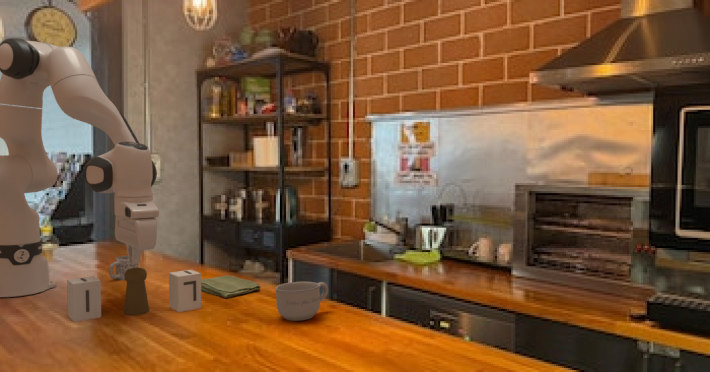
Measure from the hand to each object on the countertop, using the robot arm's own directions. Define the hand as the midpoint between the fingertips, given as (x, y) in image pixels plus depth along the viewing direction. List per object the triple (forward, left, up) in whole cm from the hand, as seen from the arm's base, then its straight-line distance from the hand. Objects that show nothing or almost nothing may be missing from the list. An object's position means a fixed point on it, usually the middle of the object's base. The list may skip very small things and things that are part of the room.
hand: (134, 263), depth 136 cm
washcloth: (-6, +28, -13) cm, 31 cm away
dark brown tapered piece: (0, 0, -13) cm, 13 cm away
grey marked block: (-4, -11, -12) cm, 17 cm away
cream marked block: (+4, +11, -12) cm, 17 cm away
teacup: (+30, +30, -13) cm, 44 cm away
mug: (-40, +9, -13) cm, 43 cm away
